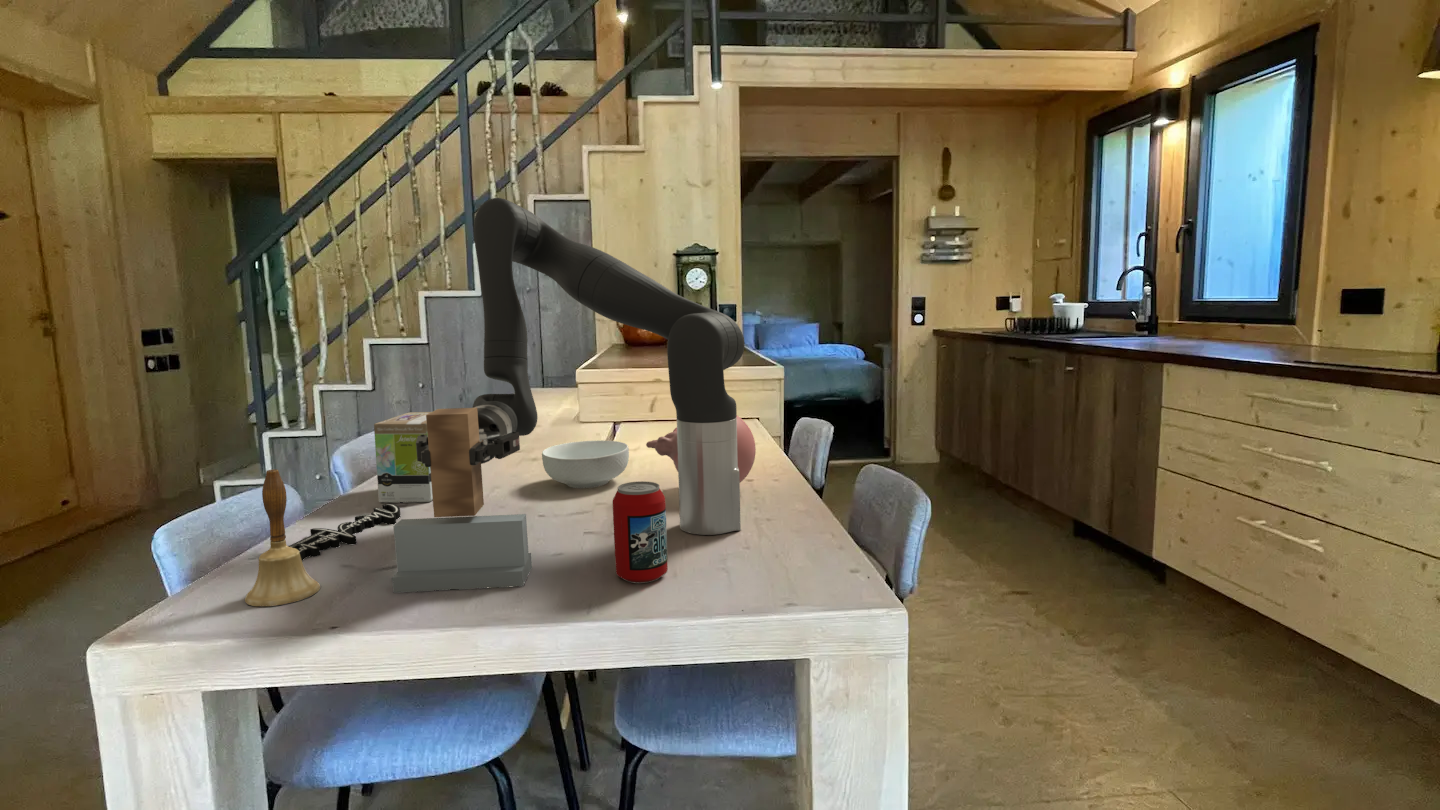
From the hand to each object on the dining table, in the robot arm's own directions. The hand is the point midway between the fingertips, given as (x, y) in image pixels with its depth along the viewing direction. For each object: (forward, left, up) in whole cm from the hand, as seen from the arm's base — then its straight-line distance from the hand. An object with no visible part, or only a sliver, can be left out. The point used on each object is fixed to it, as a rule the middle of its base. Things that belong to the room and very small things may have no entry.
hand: (450, 458), depth 96 cm
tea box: (+20, -51, -17) cm, 57 cm away
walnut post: (0, -3, -7) cm, 8 cm away
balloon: (-33, -43, -17) cm, 57 cm away
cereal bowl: (-11, -53, -17) cm, 56 cm away
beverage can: (-23, -1, -17) cm, 29 cm away
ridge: (0, -3, -17) cm, 17 cm away
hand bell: (+22, -1, -17) cm, 28 cm away
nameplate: (+24, -26, -17) cm, 39 cm away
